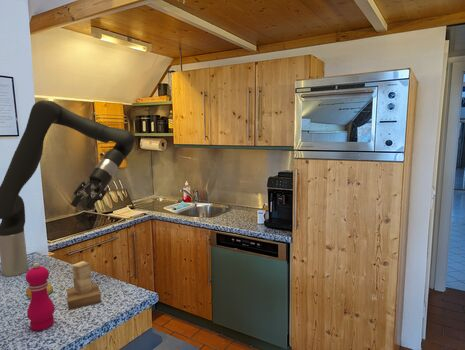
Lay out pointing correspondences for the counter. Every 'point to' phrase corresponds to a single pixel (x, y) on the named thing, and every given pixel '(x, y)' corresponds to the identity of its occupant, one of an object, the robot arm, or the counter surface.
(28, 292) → the bread roll
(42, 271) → the pepper mill
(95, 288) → the walnut block
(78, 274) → the beech block
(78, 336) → the counter surface
